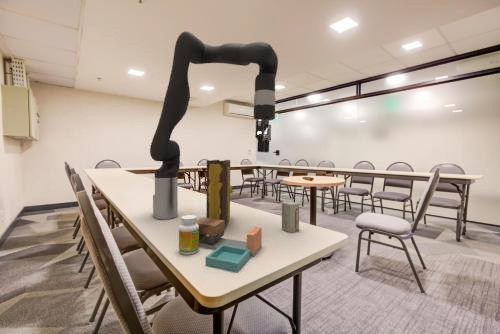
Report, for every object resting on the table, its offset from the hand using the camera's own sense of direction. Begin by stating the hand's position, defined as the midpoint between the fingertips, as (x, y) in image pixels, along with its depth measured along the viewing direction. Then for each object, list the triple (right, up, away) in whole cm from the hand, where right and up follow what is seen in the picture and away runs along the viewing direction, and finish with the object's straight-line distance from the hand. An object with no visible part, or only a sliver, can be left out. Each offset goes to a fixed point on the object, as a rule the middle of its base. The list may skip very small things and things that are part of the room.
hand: (263, 152), depth 79 cm
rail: (-12, -29, -12) cm, 34 cm away
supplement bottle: (-22, -29, -16) cm, 40 cm away
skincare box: (+10, -29, +3) cm, 30 cm away
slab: (-18, -27, -10) cm, 34 cm away
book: (-17, -28, +9) cm, 34 cm away
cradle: (-10, -29, -22) cm, 38 cm away
